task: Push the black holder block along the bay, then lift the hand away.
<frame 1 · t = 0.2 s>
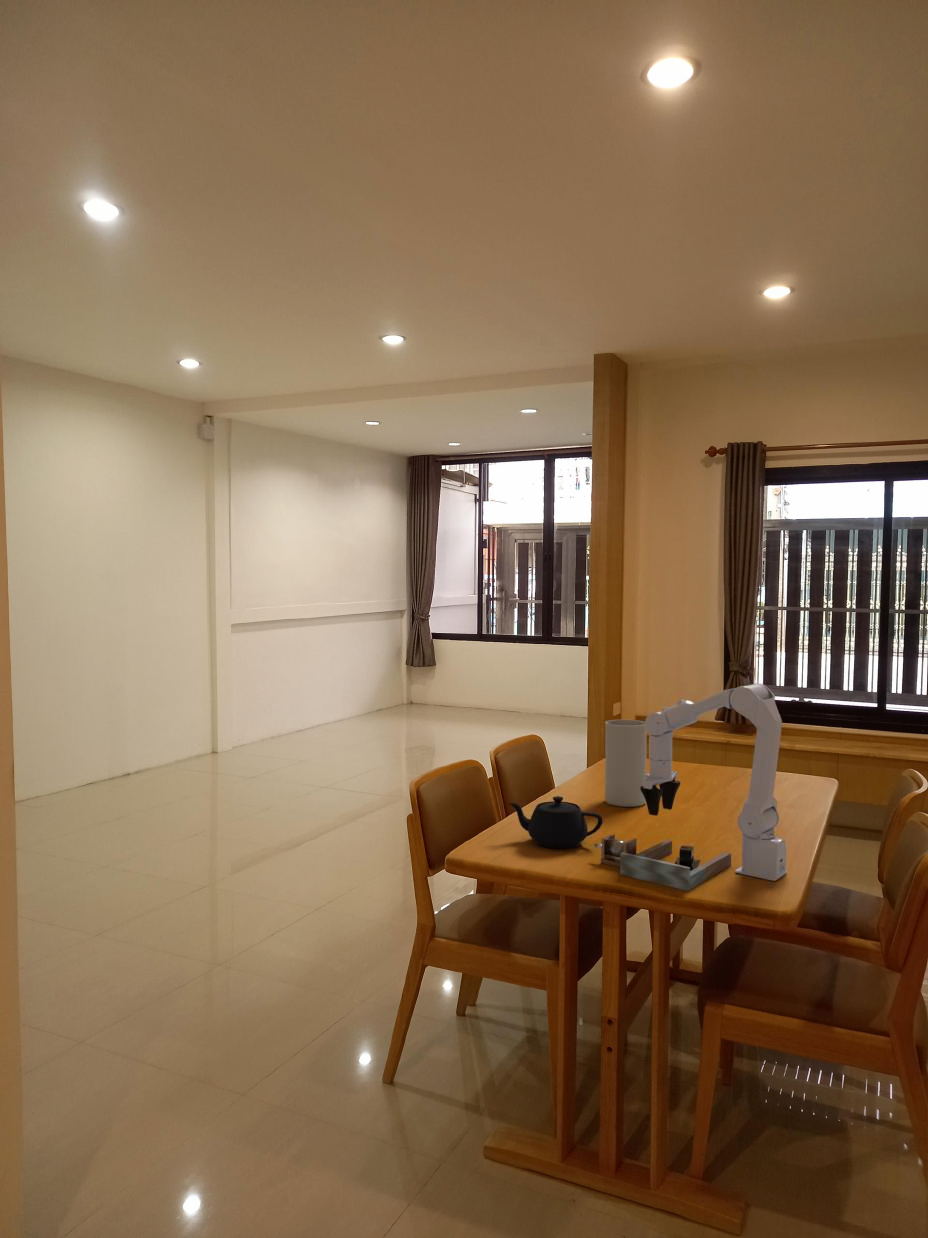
hand: (660, 812, 221), 10 cm above the table, tool pointing down, fingers open, 7 cm apart
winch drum: (618, 863, 211), on the table
bay: (677, 869, 206), on the table
cylinder vase: (625, 803, 269), on the table
teapot: (554, 843, 227), on the table
black holder block: (686, 867, 210), on the table
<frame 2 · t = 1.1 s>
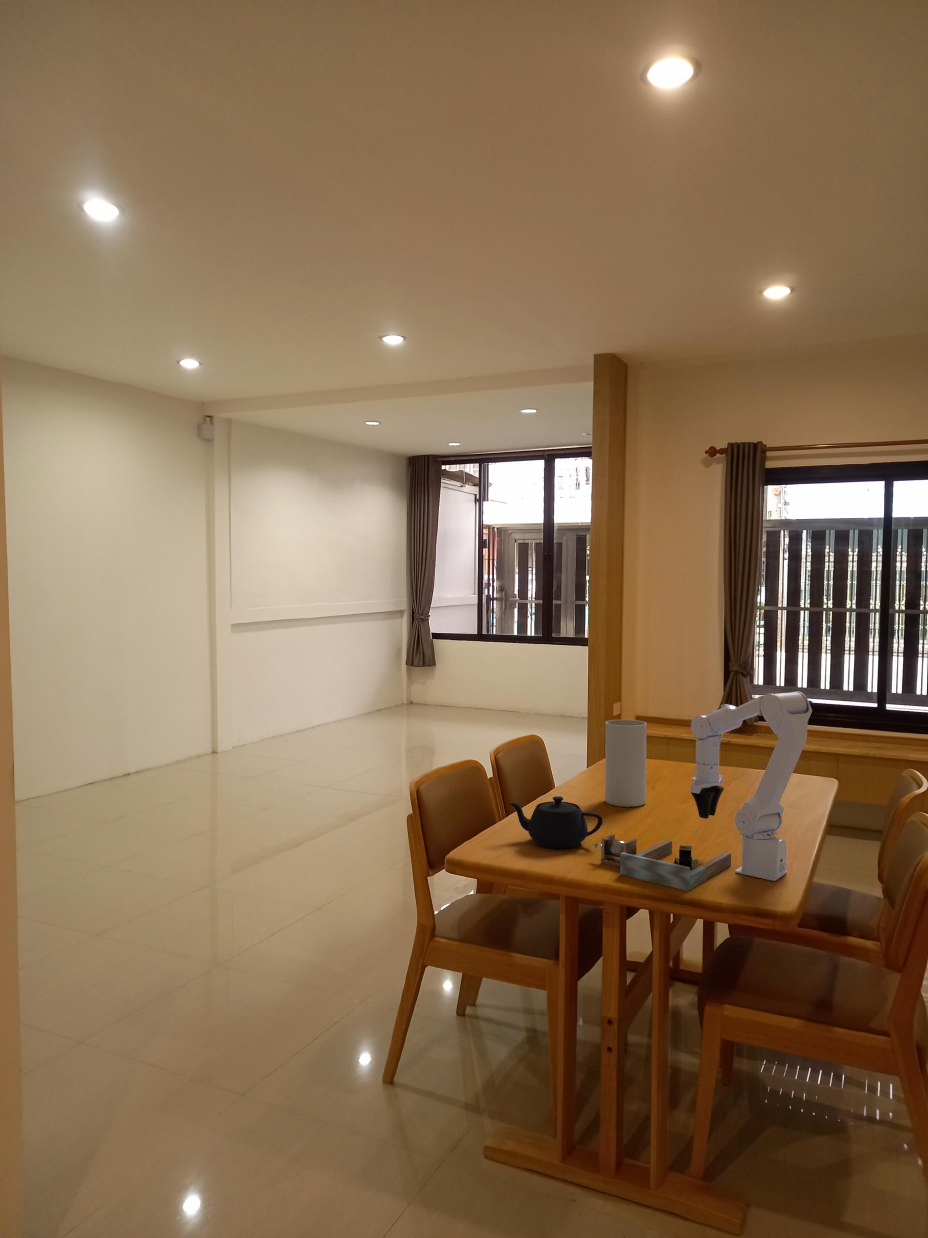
hand: (707, 816, 218), 9 cm above the table, tool pointing down, fingers open, 3 cm apart
nothing on the table moved.
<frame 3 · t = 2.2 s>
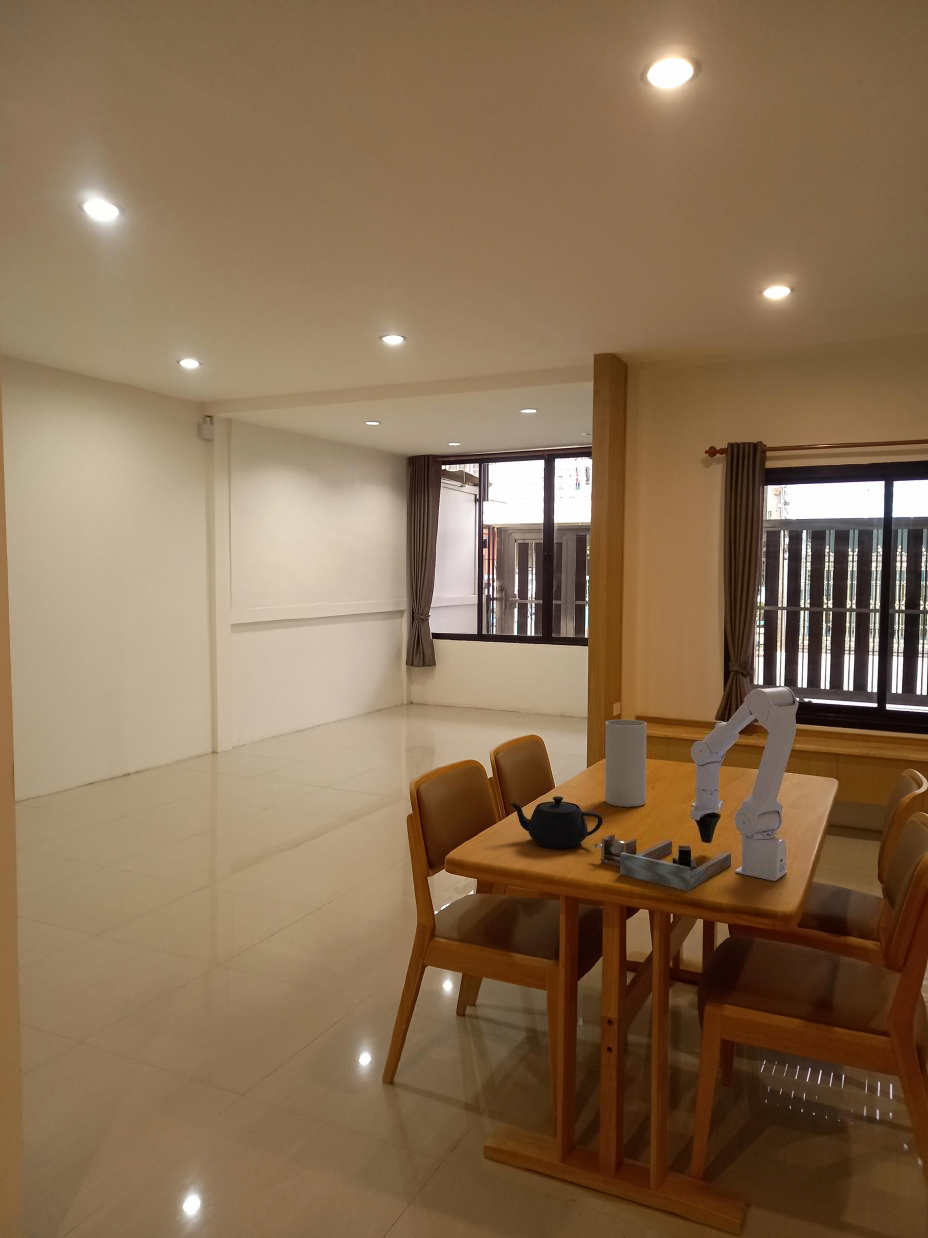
hand: (706, 842, 218), 3 cm above the table, tool pointing down, fingers closed
nothing on the table moved.
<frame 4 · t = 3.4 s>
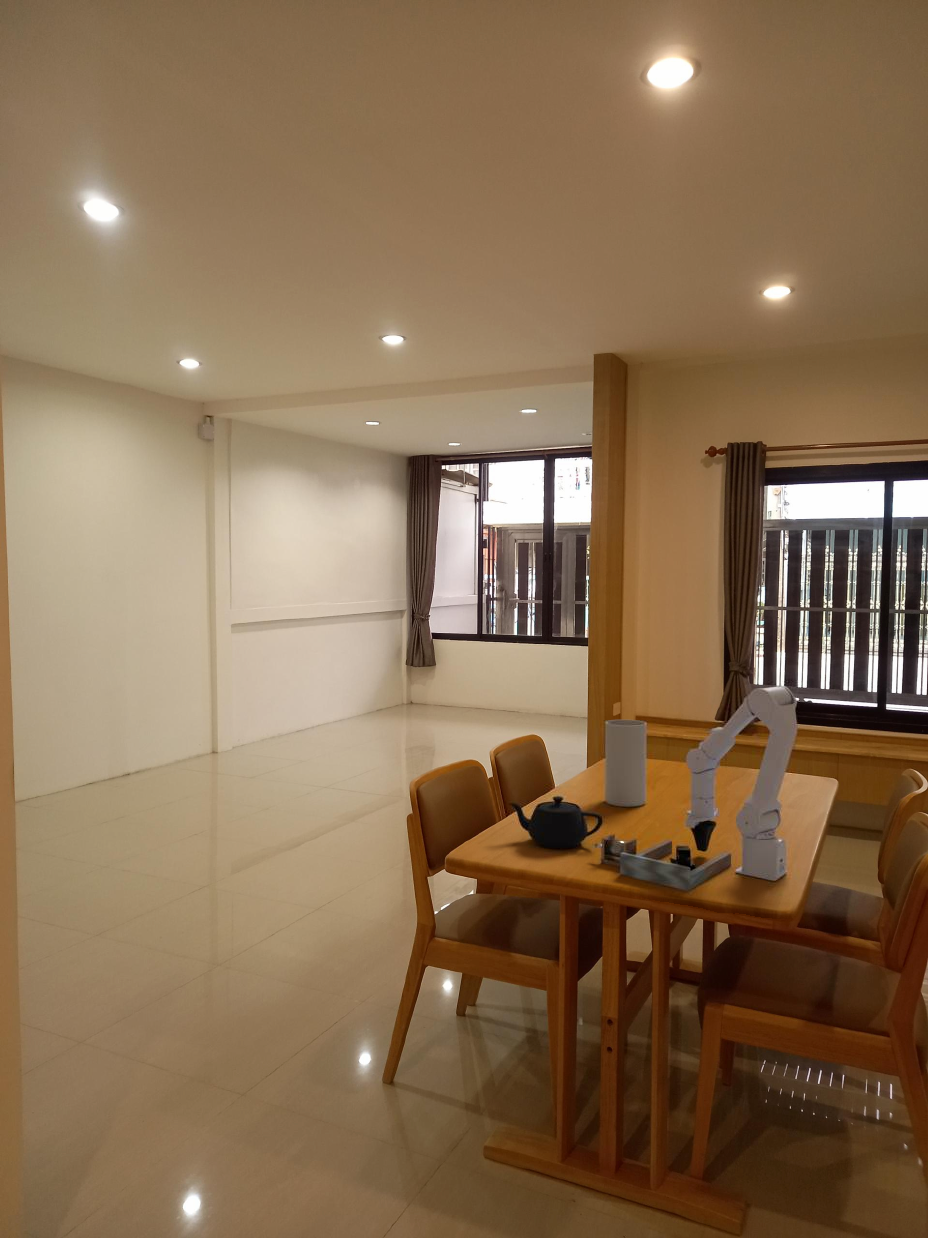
hand: (702, 850, 216), 1 cm above the table, tool pointing down, fingers closed
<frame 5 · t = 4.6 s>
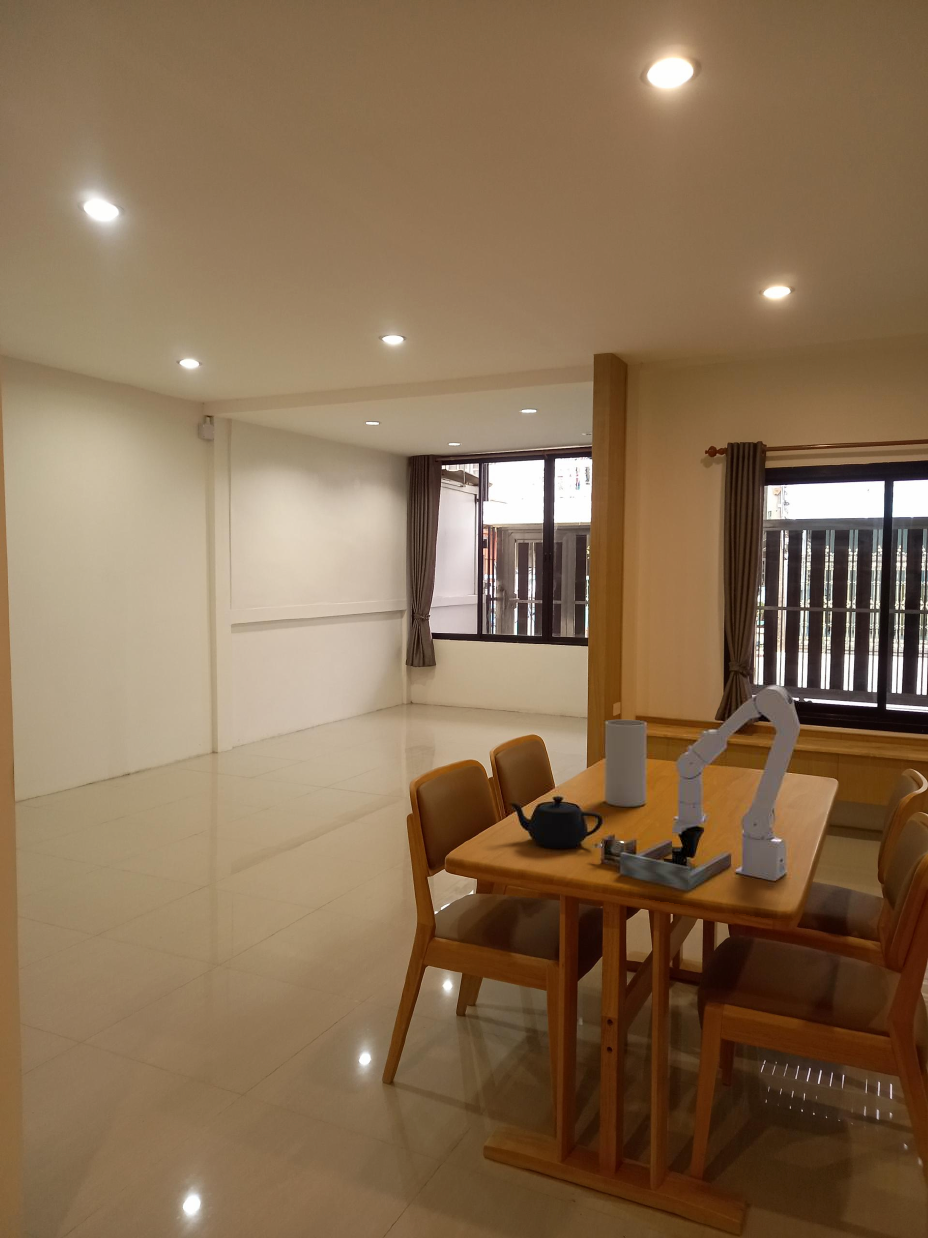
hand: (689, 857, 211), 1 cm above the table, tool pointing down, fingers closed
black holder block: (679, 868, 209), on the table, touching bay
everything else where it was.
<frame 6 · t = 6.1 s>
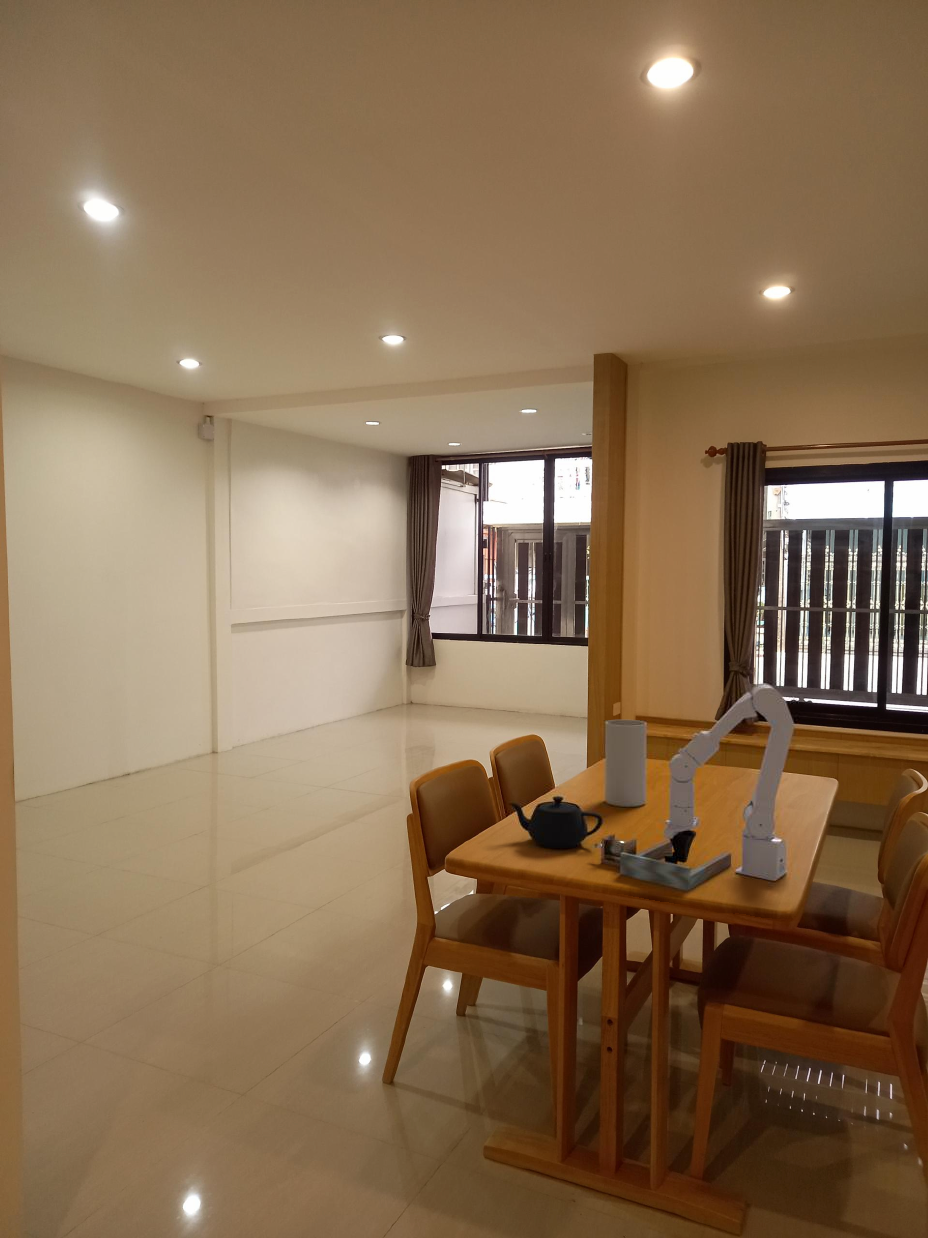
hand: (681, 861, 207), 1 cm above the table, tool pointing down, fingers closed
black holder block: (670, 873, 205), on the table
everything else where it was.
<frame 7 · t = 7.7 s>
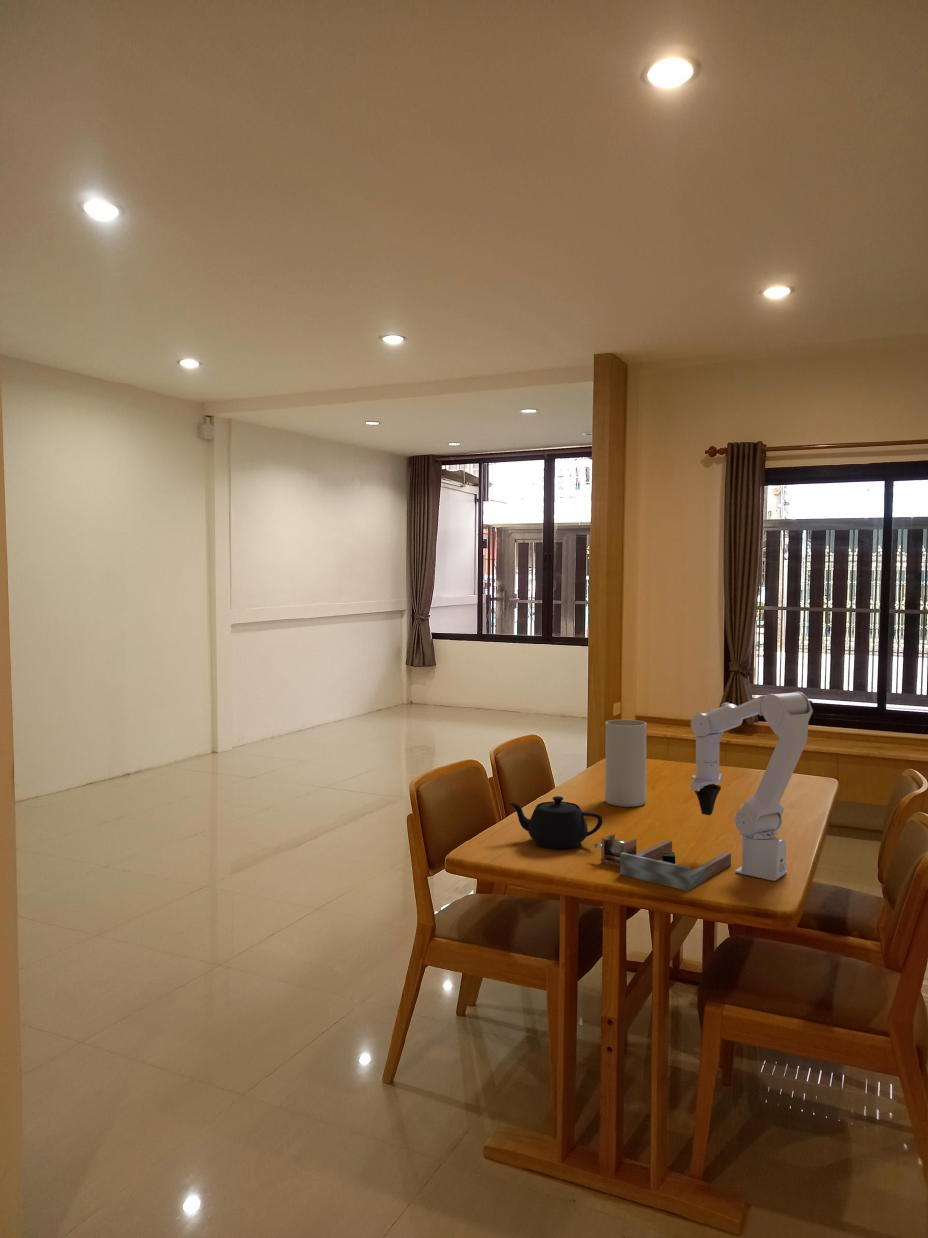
hand: (706, 814, 218), 10 cm above the table, tool pointing down, fingers closed
nothing on the table moved.
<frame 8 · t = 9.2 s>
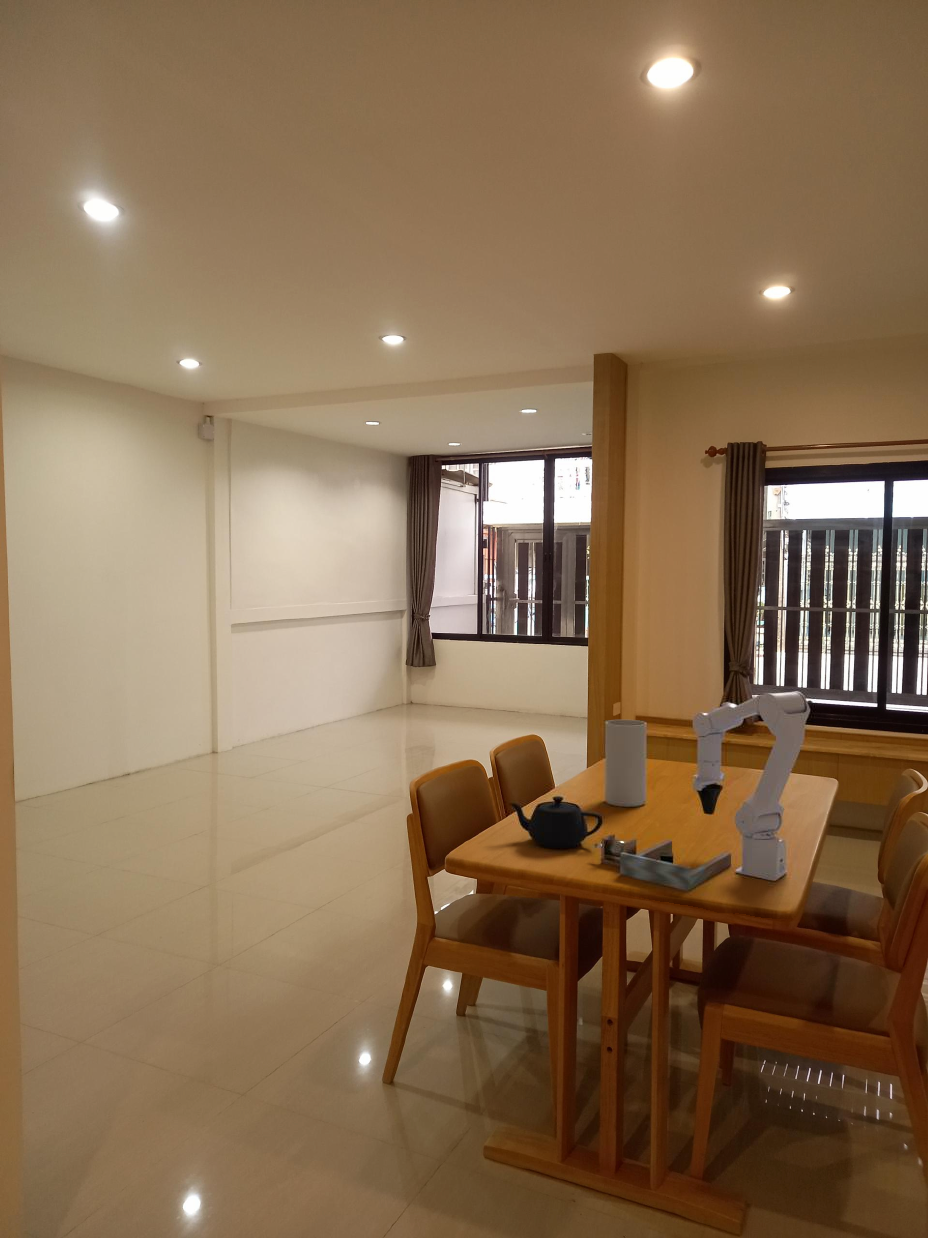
hand: (708, 813, 218), 10 cm above the table, tool pointing down, fingers closed
nothing on the table moved.
at the end: black holder block inside the target area (2.3 cm from its centre), on the table; black holder block moved 7.6 cm from its start; black holder block tilted 0° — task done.
